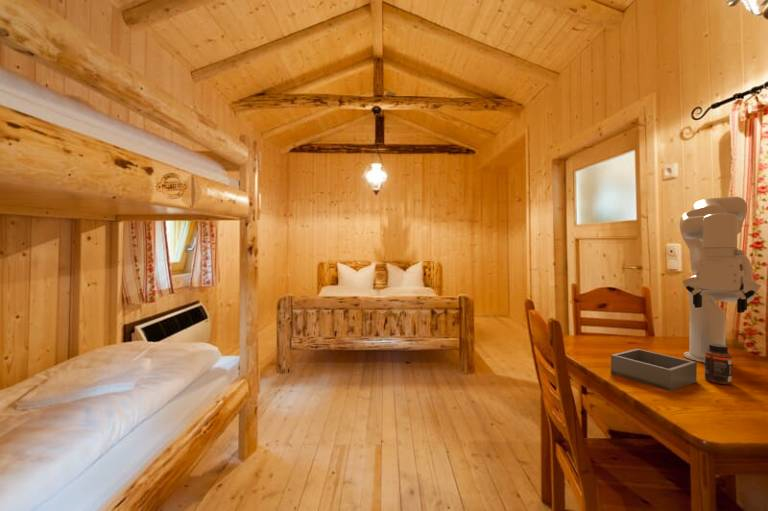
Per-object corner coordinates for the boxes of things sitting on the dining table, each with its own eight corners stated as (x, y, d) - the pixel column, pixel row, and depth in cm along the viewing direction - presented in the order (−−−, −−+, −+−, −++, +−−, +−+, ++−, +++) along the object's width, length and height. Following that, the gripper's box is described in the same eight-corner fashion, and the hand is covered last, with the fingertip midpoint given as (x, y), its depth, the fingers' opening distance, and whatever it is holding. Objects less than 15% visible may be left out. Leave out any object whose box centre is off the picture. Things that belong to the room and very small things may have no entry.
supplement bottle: (737, 386, 98) (738, 348, 98) (714, 384, 99) (714, 347, 99) (721, 378, 104) (722, 343, 104) (699, 377, 105) (699, 341, 105)
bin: (637, 365, 115) (637, 348, 115) (696, 381, 101) (696, 362, 101) (610, 373, 108) (611, 354, 108) (670, 391, 94) (671, 370, 94)
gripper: (765, 254, 95) (764, 313, 95) (689, 254, 110) (688, 305, 110) (755, 254, 92) (755, 315, 92) (678, 253, 107) (677, 306, 107)
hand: (718, 309), depth 101 cm, fingers open, 9 cm apart
